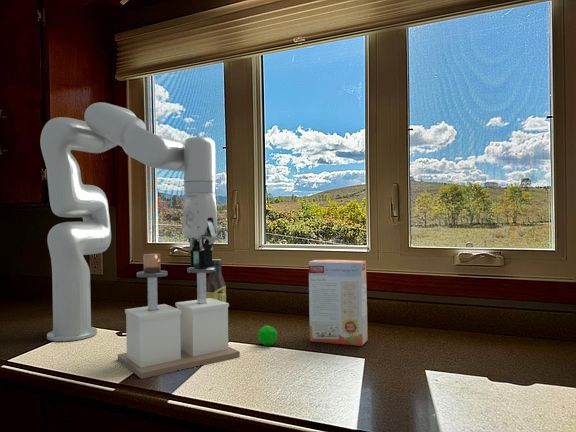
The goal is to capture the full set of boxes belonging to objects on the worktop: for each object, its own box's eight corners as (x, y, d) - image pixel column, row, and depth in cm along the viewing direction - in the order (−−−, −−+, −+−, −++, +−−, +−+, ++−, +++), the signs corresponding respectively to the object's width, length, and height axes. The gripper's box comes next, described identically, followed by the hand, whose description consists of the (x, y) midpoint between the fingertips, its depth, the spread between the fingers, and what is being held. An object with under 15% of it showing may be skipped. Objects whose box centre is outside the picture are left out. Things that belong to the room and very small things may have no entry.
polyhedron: (280, 343, 117) (280, 325, 117) (271, 348, 113) (271, 329, 113) (264, 341, 120) (263, 323, 120) (254, 346, 115) (253, 327, 115)
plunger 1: (133, 318, 103) (132, 254, 103) (161, 314, 107) (160, 252, 107) (143, 323, 98) (142, 256, 98) (172, 319, 102) (171, 254, 102)
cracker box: (368, 341, 119) (367, 259, 119) (362, 347, 113) (361, 262, 113) (316, 336, 124) (315, 258, 124) (309, 341, 118) (307, 260, 118)
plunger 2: (183, 311, 111) (182, 251, 111) (208, 307, 114) (207, 249, 114) (195, 315, 105) (194, 252, 105) (220, 311, 109) (220, 251, 109)
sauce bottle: (221, 329, 133) (220, 260, 133) (201, 328, 134) (200, 260, 134) (229, 324, 139) (228, 258, 139) (209, 323, 140) (208, 258, 140)
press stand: (117, 359, 106) (116, 307, 106) (208, 342, 120) (207, 295, 120) (141, 378, 93) (140, 319, 93) (239, 356, 107) (238, 305, 107)
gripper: (171, 191, 114) (172, 265, 114) (201, 187, 101) (202, 271, 101) (199, 192, 119) (200, 263, 119) (231, 188, 105) (232, 268, 105)
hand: (201, 266), depth 110 cm, fingers closed on plunger 2, 3 cm apart
